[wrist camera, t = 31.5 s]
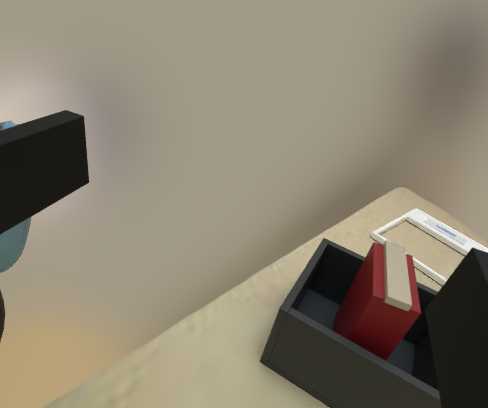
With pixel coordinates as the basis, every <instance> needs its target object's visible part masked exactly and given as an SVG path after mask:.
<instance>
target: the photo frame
mask: <svg viewBox="0 0 488 408" xmlns="http://www.w3.org/2000/svg"><path fill="white" fill-rule="evenodd" d="M405 220H407V221H408V222H410V223H412V224H413V225H415V226H417V227H418V228H420V229H422V230H423V231H425V232H427V233H428V234H430V235H432V236H433V237H435V238H437V239H438V240H440V241H442V242H443V243H445V244H447V245H448V246H450V247H452V248H453V249H455V250H457V251H458V252H460V253H462V254H463V255H465V256H466V255H467V254H468V252H469V251H470V250H471V248H472V247H473V248H476V249H479V250H482V251H485V252H487V253H488V248H486V247H484V246H482V245H481V244H479V243H477V242H475V241H473V240H472V239H470V238H468V237H466V236H465V235H463V234H461V233H459V232H458V231H456V230H454V229H452V228H451V227H449V226H447V225H445V224H444V223H442V222H440V221H438V220H436V219H435V218H433V217H431V216H429V215H428V214H426V213H424V212H422V211H421V210H419V209H417V208H416V209H414V210H412V211H410V212H408V213H407V214H405V215H403V216H401V217H399V218H397V219H396V220H394V221H392V222H390V223H388V224H387V225H385V226H383V227H381V228H379V229H377V230H376V231H374V232H372V234H371V236H370V237H372V238H373V239H375V240H376V241H378V242H379V243H381V244H382V245H383V244H384V242H385V241H386V240H387V239H385V238H384V237H382V236H381V235H380V234H382V233H384V232H385V231H387V230H389V229H391V228H392V227H394V226H396V225H398V224H399V223H401V222H403V221H405ZM387 241H388V240H387ZM389 242H390V241H389ZM406 254H408V253H406ZM413 263H414V266H415V267H416V268H418V269H419V270H420V271H422V272H423V273H425V274H426V275H428V276H429V277H431V278H432V279H434V280H435V281H437V282H438V283H440V284H441V285H444V284H445V283H446V281H447V279H445V278H444V277H442V276H441V275H439V274H438V273H436V272H435V271H433V270H432V269H430V268H429V267H427V266H426V265H424V264H423V263H421V262H420V261H418V260H417V259H415V258H414V257H413Z"/></svg>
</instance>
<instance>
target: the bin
mask: <svg viewBox="0 0 488 408" xmlns="http://www.w3.org/2000/svg"><path fill="white" fill-rule="evenodd" d="M364 260H365V257H363V256H361V255H359V254H357V253H355V252H353V251H350V250H348V249H346V248H344V247H342V246H340V245H338V244H336V243H334V242H331V241H329V240H327V239H325V238H324V239H323V240H322V242H321V243H320V245H319V247H318V248H317V250H316V251H315V253H314V254H313V256H312V258H311V259H310V261H309V262H308V264H307V266H306V267H305V269H304V270H303V272H302V274H301V275H300V277H299V278H298V280H297V282H296V283H295V285H294V286H293V288H292V290H291V291H290V293H289V294H288V296H287V297H286V299H285V301H284V302H283V304H282V305H281V307H280V309H279V312H278V314H277V317H276V320H275V322H274V325H273V328H272V330H271V333H270V336H269V338H268V341H267V344H266V346H265V349H264V352H263V354H262V357H261V360H260V362H261V363H263V364H264V365H266V366H268V367H269V368H271V369H272V370H274V371H275V372H277V373H278V374H280V375H281V376H283V377H284V378H286V379H288V380H289V381H291V382H292V383H294V384H295V385H297V386H298V387H300V388H301V389H303V390H305V391H306V392H308V393H309V394H311V395H312V396H314V397H315V398H317V399H318V400H320V401H321V402H323V403H325V404H326V405H328V406H329V407H331V408H442V407H441V401H440V395H439V389H438V383H437V377H436V372H435V366H434V360H433V354H432V348H431V342H430V336H429V330H428V324H427V319H426V313H425V309H426V308H427V306H428V305H429V304H430V302H431V301H432V300H433V299H434V297H435V296H436V295H437V293H438V292H437V291H435V290H433V289H431V288H429V287H427V286H424V285H422V284H420V283H418V282H416V283H417V290H418V296H419V303H420V310H421V314H420V315H419V317H418V318H417V319H416V321H415V322H414V323H413V325H412V326H411V327H410V329H409V330H408V332H407V333H406V334H405V336H404V337H403V338H402V340H401V341H400V342H399V344H398V345H397V346H396V348H395V349H394V350H393V352H392V353H391V355H390V356H389V357H388V359H387V360H386V361H385V360H383V359H381V358H380V357H378V356H376V355H374V354H373V353H371V352H369V351H367V350H366V349H364V348H362V347H360V346H359V345H357V344H355V343H353V342H351V341H350V340H348V339H346V338H344V337H343V336H341V335H339V334H337V333H336V332H334V331H332V330H333V323H334V317H335V315H336V313H337V311H338V309H339V308H340V306H341V304H342V302H343V300H344V298H345V296H346V294H347V292H348V290H349V288H350V287H351V285H352V283H353V281H354V279H355V277H356V275H357V273H358V271H359V269H360V267H361V266H362V264H363V262H364Z"/></svg>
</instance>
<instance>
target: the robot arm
mask: <svg viewBox="0 0 488 408" xmlns="http://www.w3.org/2000/svg"><path fill="white" fill-rule="evenodd" d="M87 183H89V175H88V162H87V150H86V137H85V124H84V116H82V115H79V114H76V113H73V112H70V111H67V110H65V111H61V112H58V113H55V114H52V115H49V116H46V117H42V118H39V119H36V120H32V121H29V122H26V123H23V124H14V123H13V122H12V121H8V122H2V123H0V273H1V272H3V271H5V270H7V269H9V268H10V267H12V266H13V264H14V263H15V262H16V261H17V260H18V259H19V257H20V256H21V254H22V251H23V249H24V246H25V243H26V239H27V236H28V232H29V227H30V221H31V216H33V215H35V214H36V213H38V212H40V211H41V210H43V209H45V208H47V207H48V206H50V205H52V204H53V203H55V202H57V201H58V200H60V199H62V198H64V197H65V196H67V195H68V194H70V193H72V192H74V191H75V190H77V189H79V188H80V187H82V186H84V185H86V184H87ZM425 313H426V319H427V324H428V330H429V336H430V342H431V348H432V354H433V360H434V366H435V372H436V377H437V383H438V389H439V395H440V401H441V407H442V408H488V253H487V252H485V251H482V250H479V249H476V248H473V247H472V248H471V250H470V251H469V252H468V254H467V255H466V256H465V258H464V259H463V260H462V261H461V263H460V264H459V265H458V267H457V268H456V269H455V271H454V272H453V273H452V275H451V276H450V277H449V279H448V280H447V281H446V283H445V284H444V285H443V287H442V288H441V289H440V291H439V292H438V293H437V295H436V296H435V297H434V299H433V300H432V301H431V302H430V304H429V305H428V306H427V308H426V309H425Z"/></svg>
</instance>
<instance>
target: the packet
mask: <svg viewBox="0 0 488 408" xmlns="http://www.w3.org/2000/svg"><path fill="white" fill-rule="evenodd" d="M420 314H421V310H420V303H419V296H418V290H417V283H416V276H415V270H414V263H413V256H411V255H409V254H406V251H405V247H404V246H401V245H398V244H395V243H392V242H389V241H387V240H386V241H385V242H384V244H383V245H380V244H377V243H375V242H374V243H373V244H372V246H371V248H370V250H369V252H368V254H367V256H366V258H365V260H364V262H363V264H362V266H361V267H360V269H359V271H358V273H357V275H356V277H355V279H354V281H353V283H352V285H351V287H350V288H349V290H348V292H347V294H346V296H345V298H344V300H343V302H342V304H341V306H340V308H339V309H338V311H337V313H336V315H335V317H334V323H333V330H332V331H334V332H336V333H337V334H339V335H341V336H343V337H344V338H346V339H348V340H350V341H351V342H353V343H355V344H357V345H359V346H360V347H362V348H364V349H366V350H367V351H369V352H371V353H373V354H374V355H376V356H378V357H380V358H381V359H383V360H385V361H386V360H387V359H388V357H389V356H390V355H391V353H392V352H393V350H394V349H395V348H396V346H397V345H398V344H399V342H400V341H401V340H402V338H403V337H404V336H405V334H406V333H407V332H408V330H409V329H410V327H411V326H412V325H413V323H414V322H415V321H416V319H417V318H418V317H419V315H420Z"/></svg>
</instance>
